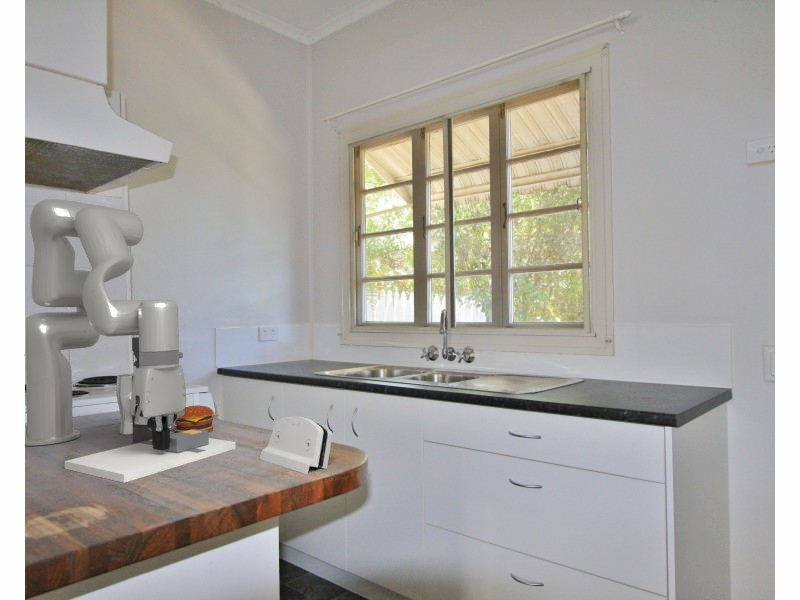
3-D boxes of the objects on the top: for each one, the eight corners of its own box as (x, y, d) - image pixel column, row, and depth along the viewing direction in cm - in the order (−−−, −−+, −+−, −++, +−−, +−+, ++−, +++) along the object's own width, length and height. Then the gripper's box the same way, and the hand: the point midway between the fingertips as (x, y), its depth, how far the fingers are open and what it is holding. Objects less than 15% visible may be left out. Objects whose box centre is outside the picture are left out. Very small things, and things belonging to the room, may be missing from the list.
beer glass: (135, 436, 135) (134, 376, 135) (111, 435, 137) (110, 376, 137) (153, 429, 142) (152, 372, 142) (130, 429, 143) (129, 373, 144)
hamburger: (166, 435, 136) (166, 408, 136) (192, 427, 145) (191, 402, 145) (197, 436, 133) (197, 409, 133) (221, 428, 142) (221, 403, 142)
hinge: (258, 458, 111) (271, 410, 114) (277, 461, 114) (289, 414, 117) (306, 474, 100) (319, 420, 102) (325, 477, 103) (338, 424, 105)
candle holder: (155, 436, 134) (153, 336, 135) (165, 440, 130) (162, 336, 130) (128, 441, 130) (126, 337, 130) (138, 445, 125) (135, 338, 126)
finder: (161, 450, 114) (161, 436, 114) (193, 441, 121) (193, 428, 121) (177, 452, 111) (176, 438, 111) (208, 443, 118) (208, 430, 118)
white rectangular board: (64, 468, 108) (64, 460, 108) (177, 439, 130) (177, 433, 130) (124, 482, 98) (123, 473, 98) (235, 448, 120) (235, 441, 120)
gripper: (179, 356, 119) (180, 439, 119) (113, 362, 107) (115, 455, 106) (201, 356, 116) (203, 442, 115) (136, 364, 103) (138, 460, 102)
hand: (161, 448), depth 111 cm, fingers closed
